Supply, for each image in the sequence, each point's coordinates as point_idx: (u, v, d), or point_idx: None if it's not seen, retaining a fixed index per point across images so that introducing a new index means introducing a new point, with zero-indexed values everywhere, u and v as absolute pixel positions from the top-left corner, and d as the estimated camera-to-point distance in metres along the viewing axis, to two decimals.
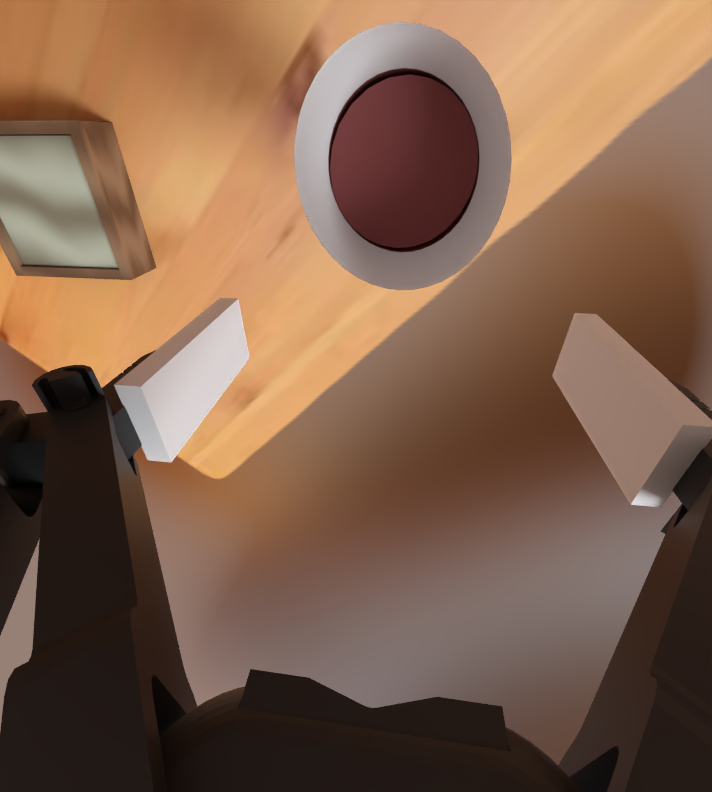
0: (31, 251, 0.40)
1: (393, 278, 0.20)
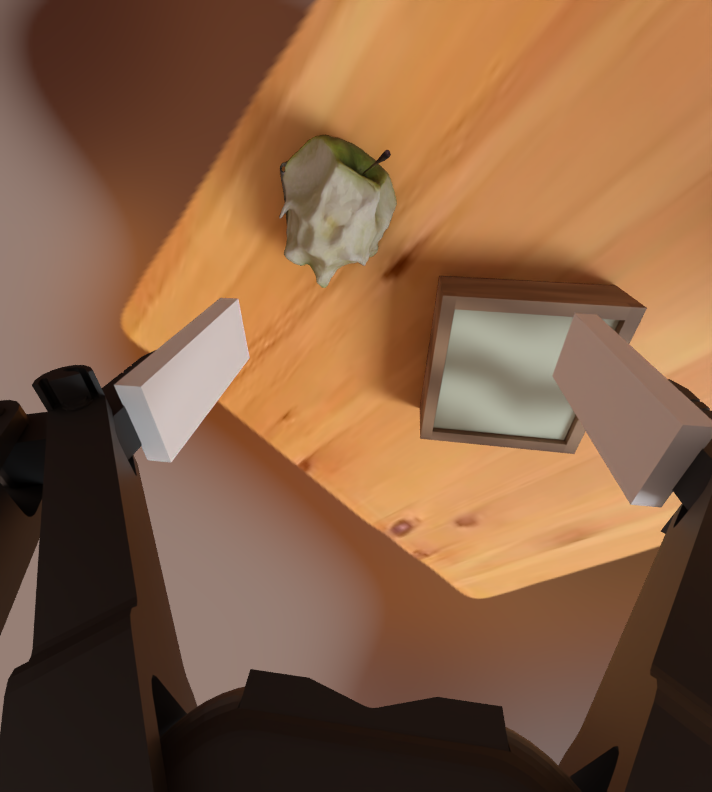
0: (453, 417, 0.33)
1: None
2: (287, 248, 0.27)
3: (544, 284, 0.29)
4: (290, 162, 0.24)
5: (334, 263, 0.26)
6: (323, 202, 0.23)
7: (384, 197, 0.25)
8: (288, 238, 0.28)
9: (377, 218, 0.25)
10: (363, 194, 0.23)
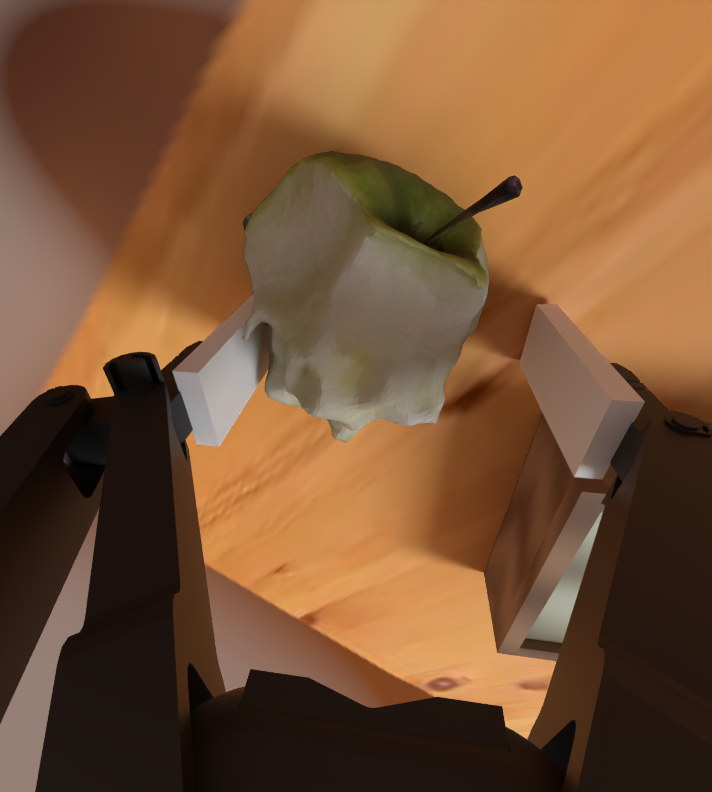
0: (558, 630, 0.20)
1: None
2: (269, 383, 0.14)
3: None
4: (254, 222, 0.11)
5: None
6: (338, 315, 0.10)
7: None
8: (271, 357, 0.14)
9: None
10: (438, 292, 0.09)
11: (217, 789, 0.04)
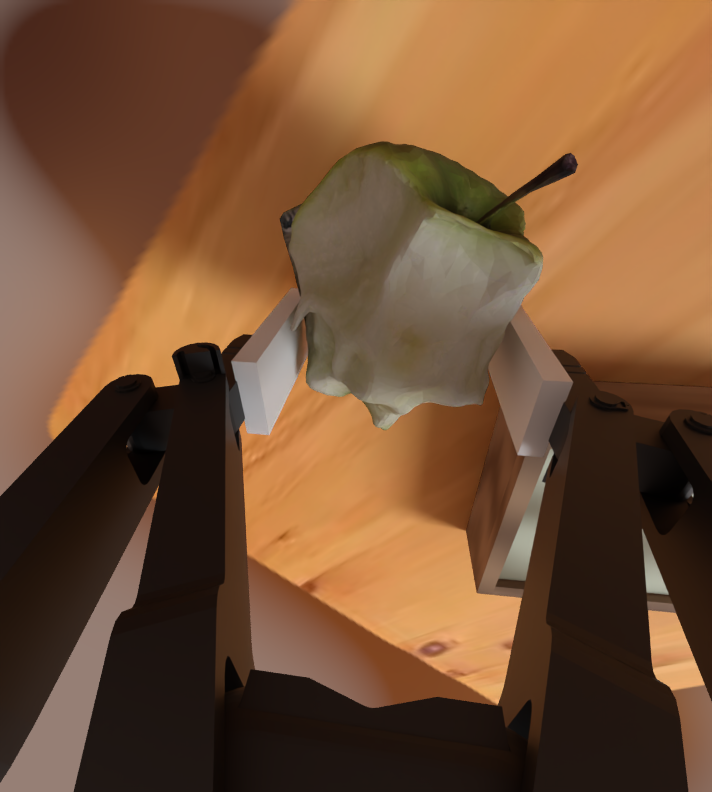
0: (527, 568, 0.23)
1: None
2: (312, 373, 0.14)
3: (673, 392, 0.19)
4: (301, 215, 0.11)
5: None
6: (391, 299, 0.10)
7: None
8: (311, 349, 0.15)
9: None
10: (491, 272, 0.09)
11: None
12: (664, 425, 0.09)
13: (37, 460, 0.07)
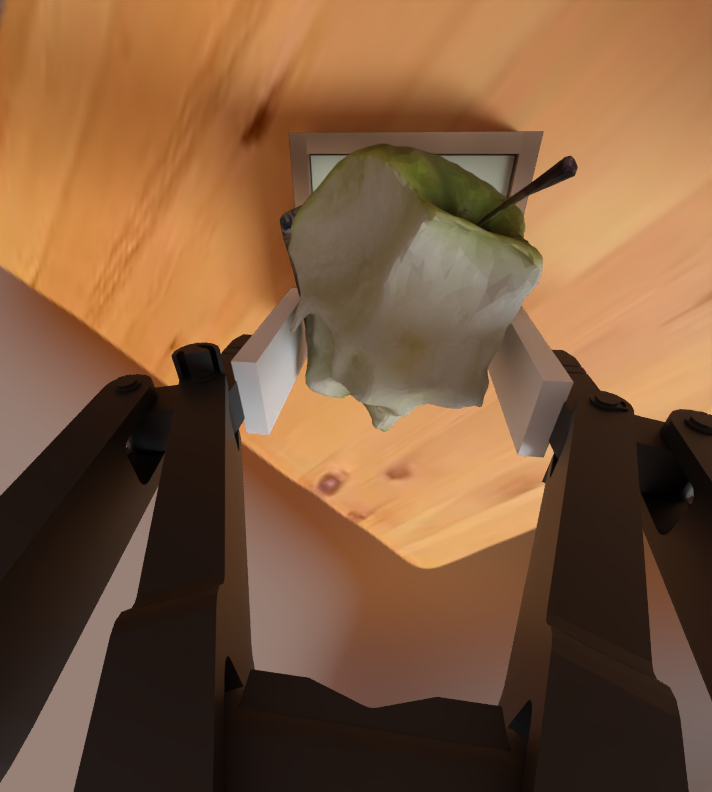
0: None
1: None
2: (311, 375, 0.14)
3: None
4: (301, 216, 0.11)
5: None
6: (391, 301, 0.10)
7: None
8: (310, 351, 0.15)
9: None
10: (491, 274, 0.09)
11: None
12: (664, 425, 0.09)
13: (37, 460, 0.07)
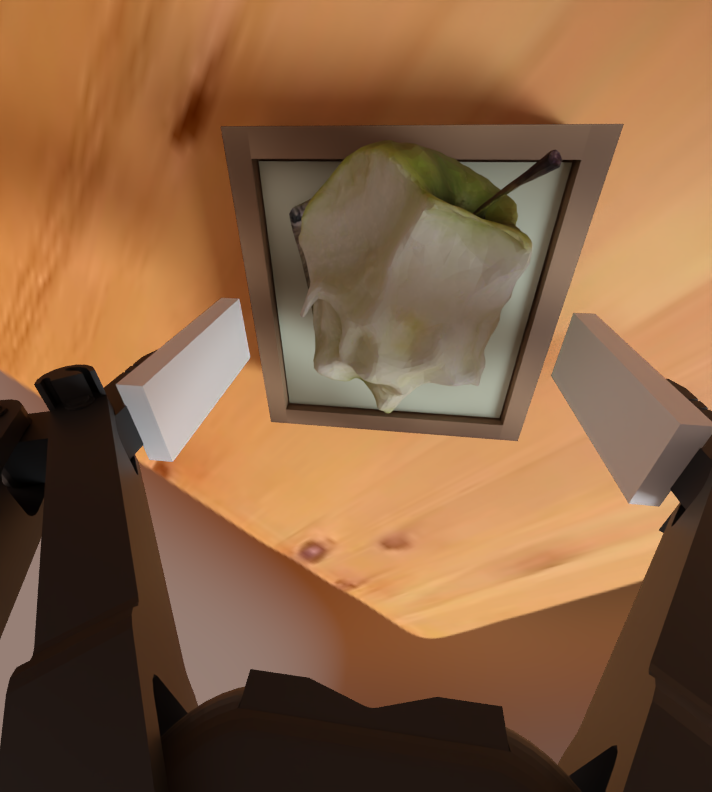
0: (316, 384, 0.20)
1: None
2: (319, 359, 0.15)
3: None
4: (311, 208, 0.12)
5: None
6: (394, 285, 0.11)
7: None
8: (318, 337, 0.16)
9: None
10: (486, 258, 0.10)
11: (192, 791, 0.04)
12: None
13: None
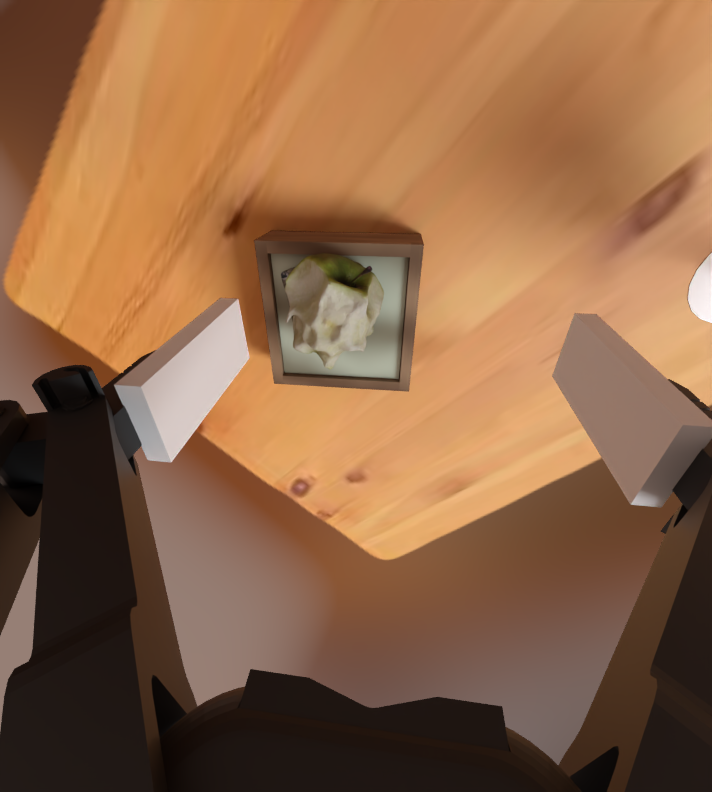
0: (299, 361, 0.37)
1: None
2: (295, 342, 0.32)
3: (357, 234, 0.33)
4: (289, 277, 0.29)
5: (336, 353, 0.30)
6: (321, 309, 0.28)
7: (372, 292, 0.29)
8: (295, 332, 0.32)
9: (368, 311, 0.29)
10: (353, 300, 0.27)
11: (192, 791, 0.04)
12: None
13: None
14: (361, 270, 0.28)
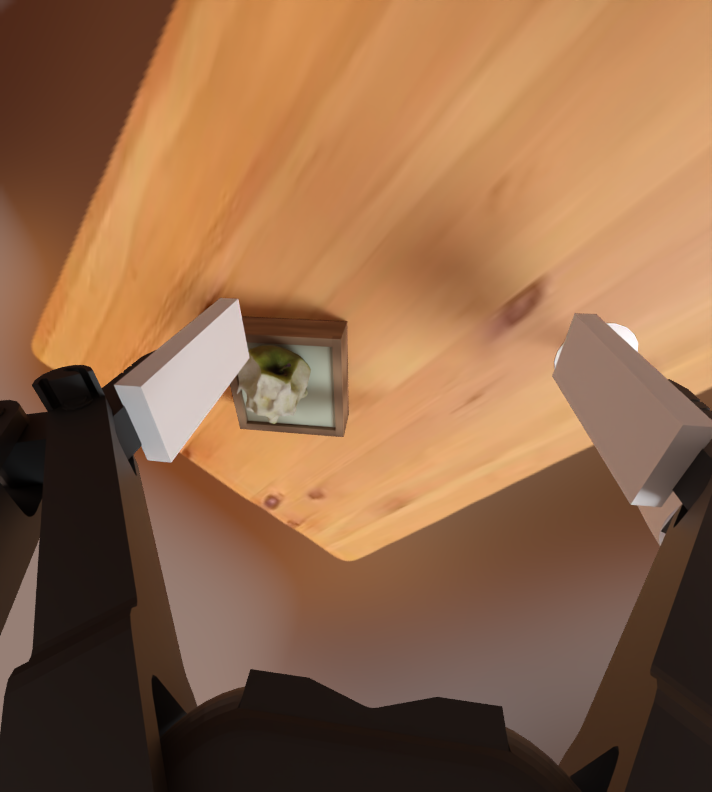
0: None
1: None
2: (246, 405, 0.42)
3: (298, 321, 0.43)
4: None
5: (275, 415, 0.41)
6: (259, 389, 0.38)
7: (300, 372, 0.40)
8: (247, 396, 0.43)
9: (296, 387, 0.40)
10: (281, 384, 0.37)
11: (191, 791, 0.04)
12: None
13: None
14: (289, 358, 0.39)
